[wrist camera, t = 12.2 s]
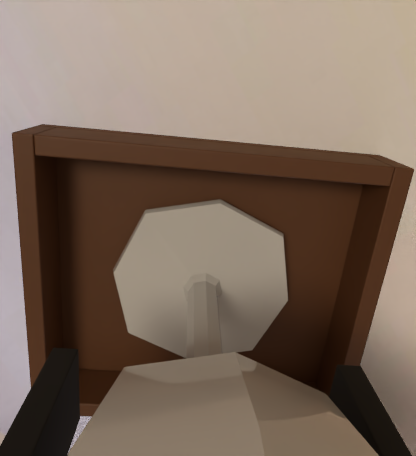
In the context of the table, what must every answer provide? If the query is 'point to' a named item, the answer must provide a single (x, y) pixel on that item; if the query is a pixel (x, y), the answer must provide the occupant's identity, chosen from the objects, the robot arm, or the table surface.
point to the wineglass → (209, 347)
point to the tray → (190, 193)
